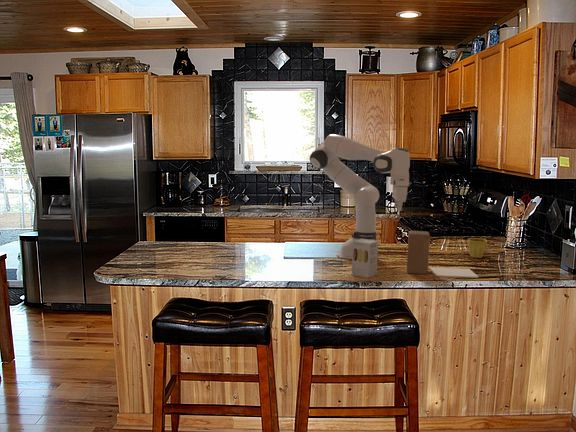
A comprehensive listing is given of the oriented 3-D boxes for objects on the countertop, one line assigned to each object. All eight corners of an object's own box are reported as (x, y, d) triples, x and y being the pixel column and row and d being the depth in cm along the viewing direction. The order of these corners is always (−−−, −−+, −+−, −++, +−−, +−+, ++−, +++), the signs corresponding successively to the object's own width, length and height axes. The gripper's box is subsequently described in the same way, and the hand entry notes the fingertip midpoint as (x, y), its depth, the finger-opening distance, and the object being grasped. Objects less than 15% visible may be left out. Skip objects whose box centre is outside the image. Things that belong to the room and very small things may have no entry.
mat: (436, 276, 275) (436, 275, 275) (429, 268, 291) (429, 267, 291) (478, 277, 275) (478, 276, 275) (469, 269, 290) (469, 268, 290)
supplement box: (350, 275, 275) (352, 240, 272) (359, 271, 282) (361, 237, 280) (368, 278, 269) (370, 243, 267) (377, 274, 277) (378, 240, 274)
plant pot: (479, 259, 315) (480, 242, 314) (463, 256, 323) (464, 239, 322) (489, 257, 322) (491, 240, 321) (473, 253, 330) (474, 237, 328)
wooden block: (427, 275, 278) (430, 234, 275) (406, 273, 280) (408, 233, 277) (426, 270, 287) (429, 231, 284) (406, 268, 289) (408, 230, 286)
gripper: (390, 179, 288) (388, 206, 290) (396, 182, 268) (394, 211, 270) (402, 179, 288) (401, 206, 290) (409, 183, 267) (408, 212, 269)
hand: (398, 209), depth 279 cm, fingers open, 7 cm apart
